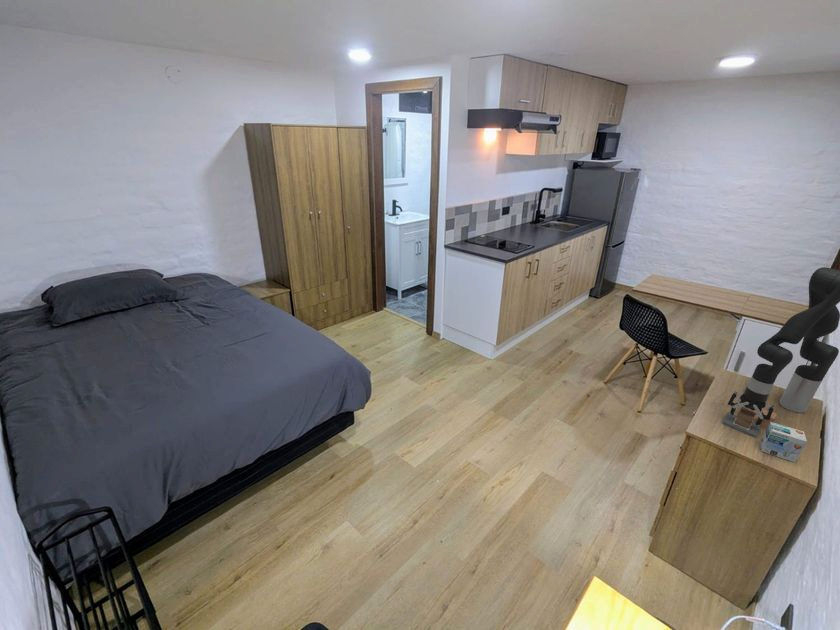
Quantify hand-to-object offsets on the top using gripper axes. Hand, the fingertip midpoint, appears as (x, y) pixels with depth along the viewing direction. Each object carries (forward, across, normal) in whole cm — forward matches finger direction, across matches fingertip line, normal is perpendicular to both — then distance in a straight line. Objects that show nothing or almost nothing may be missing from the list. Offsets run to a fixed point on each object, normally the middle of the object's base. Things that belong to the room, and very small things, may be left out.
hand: (744, 419), depth 168 cm
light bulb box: (+4, -13, +8) cm, 16 cm away
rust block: (+4, -6, -8) cm, 11 cm away
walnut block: (+2, 0, 0) cm, 2 cm away
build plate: (+4, 0, 0) cm, 4 cm away
